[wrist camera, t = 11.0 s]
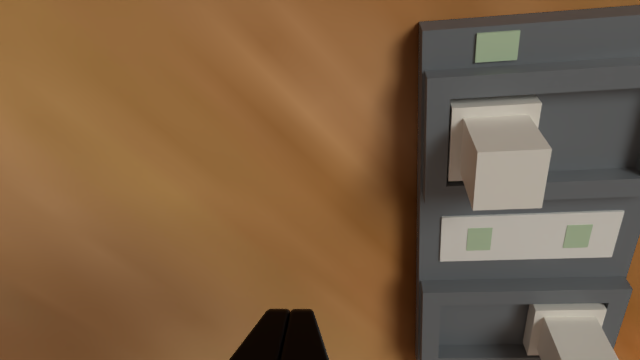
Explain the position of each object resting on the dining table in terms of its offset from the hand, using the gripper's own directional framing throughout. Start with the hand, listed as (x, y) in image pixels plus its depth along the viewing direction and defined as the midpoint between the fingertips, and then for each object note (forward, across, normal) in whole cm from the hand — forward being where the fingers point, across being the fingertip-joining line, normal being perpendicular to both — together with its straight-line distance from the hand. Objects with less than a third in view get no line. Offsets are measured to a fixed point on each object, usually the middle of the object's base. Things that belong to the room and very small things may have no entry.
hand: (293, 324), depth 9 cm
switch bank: (+12, -8, +6) cm, 16 cm away
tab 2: (+11, -10, +11) cm, 19 cm away
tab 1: (+11, -6, +2) cm, 12 cm away
